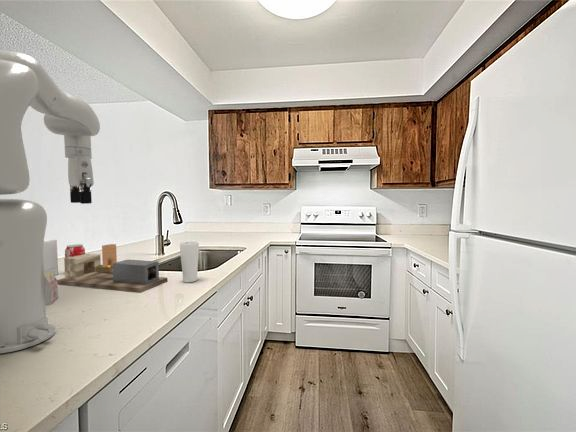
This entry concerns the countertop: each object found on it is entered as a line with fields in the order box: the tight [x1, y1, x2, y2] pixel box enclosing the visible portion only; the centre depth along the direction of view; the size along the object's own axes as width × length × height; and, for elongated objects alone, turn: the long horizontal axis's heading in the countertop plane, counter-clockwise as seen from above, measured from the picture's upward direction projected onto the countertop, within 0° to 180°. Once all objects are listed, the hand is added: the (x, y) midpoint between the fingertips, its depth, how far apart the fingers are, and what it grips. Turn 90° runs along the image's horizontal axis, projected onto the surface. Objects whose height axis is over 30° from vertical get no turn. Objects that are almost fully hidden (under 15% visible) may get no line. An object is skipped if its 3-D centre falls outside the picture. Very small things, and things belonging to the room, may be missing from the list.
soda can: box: [64, 243, 86, 258], centre depth 125 cm, size 7×7×12 cm
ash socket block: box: [63, 253, 102, 280], centre depth 114 cm, size 6×10×8 cm, turn 165°
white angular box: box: [44, 268, 59, 306], centre depth 90 cm, size 4×7×10 cm, turn 24°
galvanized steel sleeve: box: [113, 259, 160, 285], centre depth 107 cm, size 14×7×7 cm, turn 75°
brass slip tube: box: [96, 243, 151, 276], centre depth 109 cm, size 22×4×11 cm, turn 75°
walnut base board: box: [57, 273, 168, 294], centre depth 110 cm, size 38×14×2 cm, turn 75°
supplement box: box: [43, 238, 59, 276], centre depth 120 cm, size 9×9×15 cm
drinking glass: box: [179, 241, 200, 283], centre depth 113 cm, size 7×7×15 cm
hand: (81, 203), depth 102 cm, fingers open, 9 cm apart
